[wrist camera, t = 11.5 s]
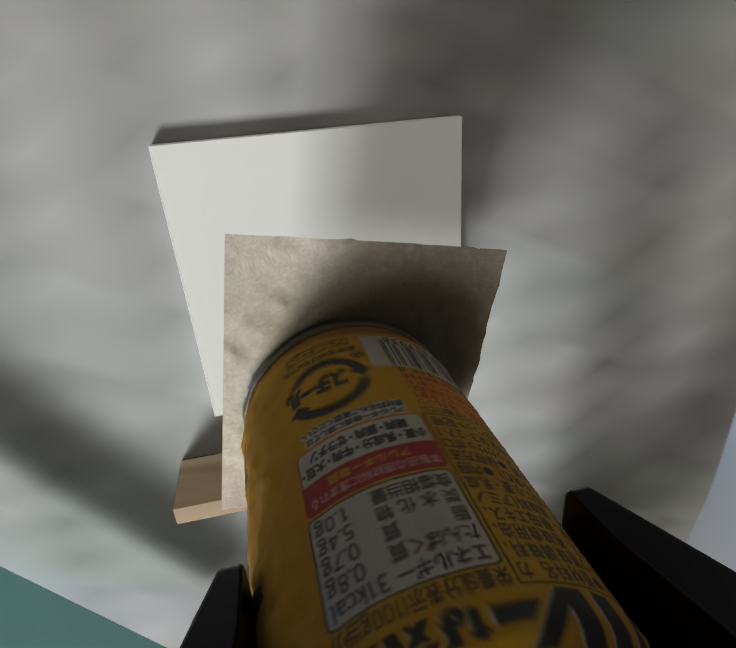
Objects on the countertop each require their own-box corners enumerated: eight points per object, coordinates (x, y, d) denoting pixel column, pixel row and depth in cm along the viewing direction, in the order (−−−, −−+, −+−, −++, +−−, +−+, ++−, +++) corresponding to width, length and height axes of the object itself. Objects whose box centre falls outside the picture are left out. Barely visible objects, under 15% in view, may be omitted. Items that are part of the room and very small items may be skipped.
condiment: (221, 505, 16) (224, 1392, 5) (224, 231, 12) (251, 1272, 2) (443, 485, 18) (767, 1091, 7) (501, 246, 14) (1298, 752, 4)
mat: (455, 366, 24) (459, 373, 24) (215, 408, 22) (214, 416, 22) (456, 115, 19) (461, 116, 19) (151, 144, 18) (148, 146, 17)
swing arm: (194, 661, 25) (188, 731, 22) (176, 674, 25) (167, 746, 22) (-163, 486, 17) (-238, 560, 15) (-186, 507, 17) (-264, 583, 15)
